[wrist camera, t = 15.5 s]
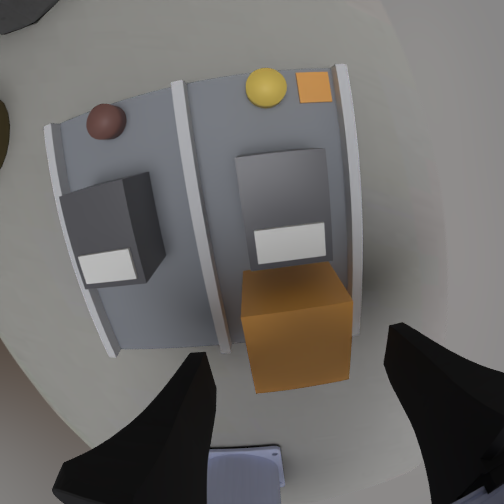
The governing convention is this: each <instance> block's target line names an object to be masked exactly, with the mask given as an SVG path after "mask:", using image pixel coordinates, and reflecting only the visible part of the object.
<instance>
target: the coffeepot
mask: <svg viewBox="0 0 504 504" xmlns="http://www.w3.org/2000/svg"><path fill="white" fill-rule="evenodd" d="M58 1H59V0H0V34H1V35H2V34H5V33H8V32H12V31H15V30H19V29H22V28H24V27H26V26H28V25H29V24H31V23H34V22H35V21H36V20H38V19H39V18H40V17H41V16H42V15H44V14H45V13H46V12H47V11H48V10H49V9H50V8H52V7H53V6H54V5H55V4H56V3H57V2H58Z"/></svg>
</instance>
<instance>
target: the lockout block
mask: <svg viewBox="0 0 504 504" xmlns="http://www.w3.org/2000/svg"><path fill="white" fill-rule="evenodd" d="M241 321H242V326H243V331H244V336H245V341H246V346H247V351H248V356H249V361H250V366H251V371H252V376H253V381H254V386H255V390H256V394H257V393H266V392H275V391H283V390H290V389H297V388H304V387H310V386H316V385H322V384H327V383H332V382H338V381H342V380H347V379H349V371H350V358H351V343H352V323H353V300H352V298H351V296H350V295H349V293H348V291H347V290H346V288H345V287H344V285H343V283H342V282H341V280H340V279H339V277H338V275H337V274H336V272H335V271H334V269H333V268H332V266H331V264H330V263H329V261H327V262H319V263H312V264H304V265H297V266H289V267H282V268H274V269H266V270H258V271H251V270H246V271H243V282H242V303H241Z"/></svg>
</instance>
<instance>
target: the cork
mask: <svg viewBox="0 0 504 504" xmlns="http://www.w3.org/2000/svg"><path fill="white" fill-rule="evenodd" d="M9 130H10V124H9V117H8V112H7V110H6V107H5V105H4V103H3V102H2V101H1V100H0V168H1V167H2V164H3V162H4V159H5V156H6V153H7V148H8V143H9Z"/></svg>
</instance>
